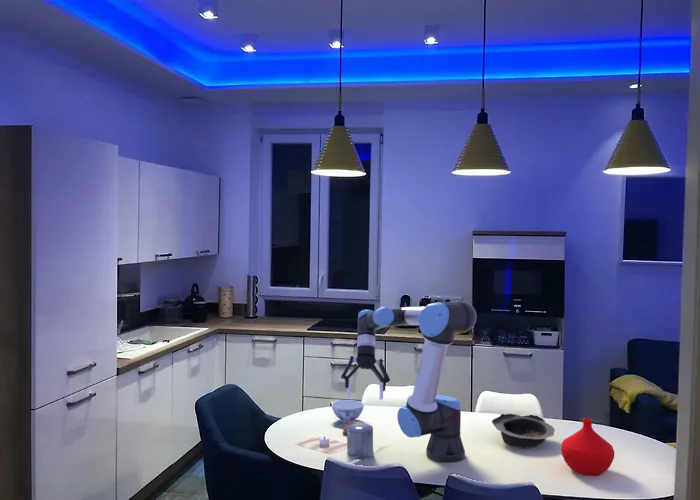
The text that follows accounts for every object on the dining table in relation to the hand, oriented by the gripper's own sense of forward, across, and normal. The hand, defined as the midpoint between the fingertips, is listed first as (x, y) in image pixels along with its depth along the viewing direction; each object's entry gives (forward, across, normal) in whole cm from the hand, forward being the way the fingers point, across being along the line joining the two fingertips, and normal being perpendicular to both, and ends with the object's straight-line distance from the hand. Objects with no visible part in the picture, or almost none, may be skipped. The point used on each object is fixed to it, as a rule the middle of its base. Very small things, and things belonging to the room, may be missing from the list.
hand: (365, 397), depth 252 cm
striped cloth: (+18, +13, -15) cm, 27 cm away
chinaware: (+2, -3, -45) cm, 45 cm away
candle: (+17, +13, -15) cm, 26 cm away
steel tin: (+22, 0, -4) cm, 22 cm away
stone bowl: (+13, -69, -1) cm, 71 cm away
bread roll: (+12, -2, -25) cm, 28 cm away
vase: (+27, -77, +30) cm, 87 cm away
